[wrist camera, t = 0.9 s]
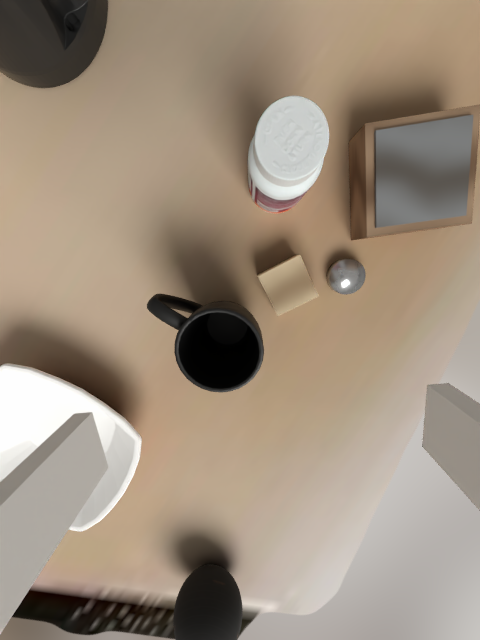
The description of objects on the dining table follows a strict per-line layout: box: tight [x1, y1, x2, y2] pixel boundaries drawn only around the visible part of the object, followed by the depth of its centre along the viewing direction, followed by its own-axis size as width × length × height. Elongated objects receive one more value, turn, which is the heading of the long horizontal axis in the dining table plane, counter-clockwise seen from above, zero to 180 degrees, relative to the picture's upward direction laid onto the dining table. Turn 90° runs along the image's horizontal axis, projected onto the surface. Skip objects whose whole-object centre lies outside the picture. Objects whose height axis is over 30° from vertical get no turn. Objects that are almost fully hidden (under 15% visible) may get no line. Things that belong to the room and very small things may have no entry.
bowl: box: [0, 363, 142, 531], centre depth 34 cm, size 22×22×5 cm
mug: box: [147, 294, 264, 392], centre depth 28 cm, size 8×12×10 cm
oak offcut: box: [257, 255, 319, 316], centre depth 29 cm, size 5×5×3 cm
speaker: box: [174, 565, 242, 640], centre depth 38 cm, size 10×10×10 cm
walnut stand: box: [349, 105, 480, 240], centre depth 26 cm, size 10×10×4 cm
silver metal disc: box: [327, 259, 365, 294], centre depth 30 cm, size 4×4×1 cm
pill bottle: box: [248, 96, 329, 213], centre depth 23 cm, size 6×6×11 cm
